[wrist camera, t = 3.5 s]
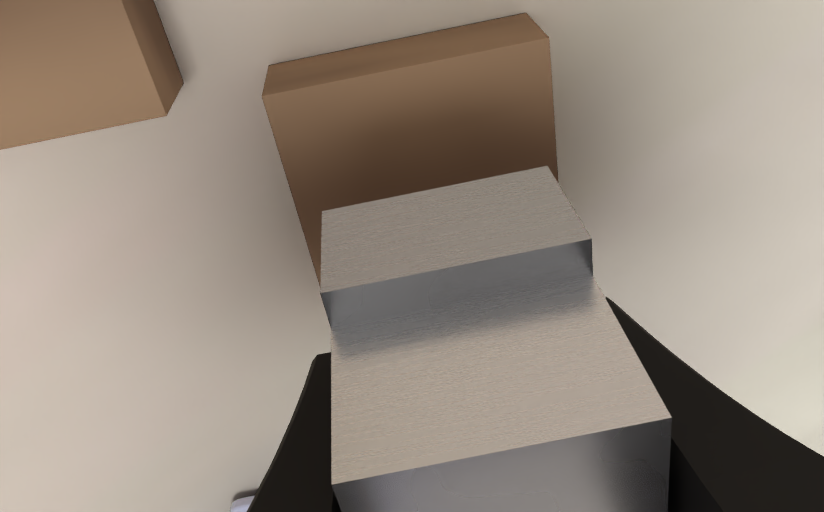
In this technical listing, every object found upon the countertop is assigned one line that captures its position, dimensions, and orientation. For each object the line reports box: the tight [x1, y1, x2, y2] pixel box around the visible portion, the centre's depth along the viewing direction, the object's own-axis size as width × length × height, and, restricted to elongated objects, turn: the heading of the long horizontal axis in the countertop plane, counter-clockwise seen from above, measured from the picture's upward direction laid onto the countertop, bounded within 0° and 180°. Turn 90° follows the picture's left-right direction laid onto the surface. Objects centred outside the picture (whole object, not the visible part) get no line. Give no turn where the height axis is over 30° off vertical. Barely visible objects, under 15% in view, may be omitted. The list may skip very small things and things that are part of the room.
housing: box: [320, 166, 672, 512], centre depth 11 cm, size 6×4×5 cm, turn 10°
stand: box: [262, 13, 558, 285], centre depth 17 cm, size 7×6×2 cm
